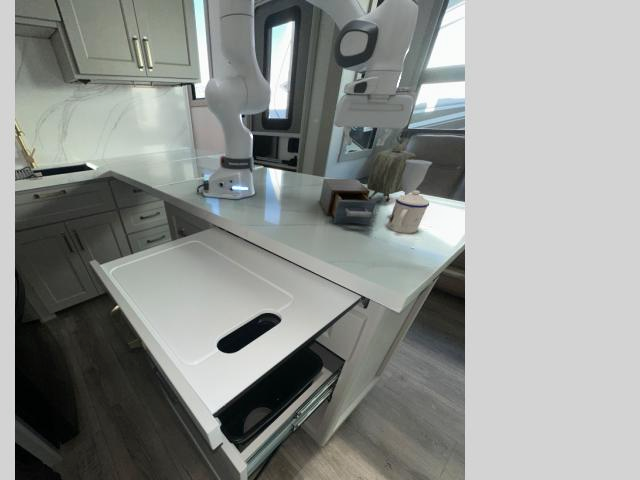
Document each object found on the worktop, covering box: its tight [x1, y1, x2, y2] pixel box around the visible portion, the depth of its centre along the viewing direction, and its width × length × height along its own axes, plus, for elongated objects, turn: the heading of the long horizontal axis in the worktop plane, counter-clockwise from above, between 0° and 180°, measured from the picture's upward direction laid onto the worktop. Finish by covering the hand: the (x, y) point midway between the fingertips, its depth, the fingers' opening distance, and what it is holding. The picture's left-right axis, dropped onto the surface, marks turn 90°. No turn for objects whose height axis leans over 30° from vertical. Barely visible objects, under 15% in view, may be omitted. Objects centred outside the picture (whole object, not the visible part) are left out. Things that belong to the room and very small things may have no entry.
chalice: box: [389, 159, 433, 218], centre depth 88 cm, size 7×7×18 cm
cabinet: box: [319, 178, 371, 216], centre depth 99 cm, size 16×13×9 cm
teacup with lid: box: [387, 189, 430, 234], centre depth 82 cm, size 12×9×12 cm
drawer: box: [330, 193, 377, 224], centre depth 89 cm, size 19×11×7 cm, turn 176°
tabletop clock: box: [366, 128, 418, 203], centre depth 101 cm, size 14×9×25 cm, turn 122°
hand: (363, 145), depth 79 cm, fingers open, 8 cm apart
